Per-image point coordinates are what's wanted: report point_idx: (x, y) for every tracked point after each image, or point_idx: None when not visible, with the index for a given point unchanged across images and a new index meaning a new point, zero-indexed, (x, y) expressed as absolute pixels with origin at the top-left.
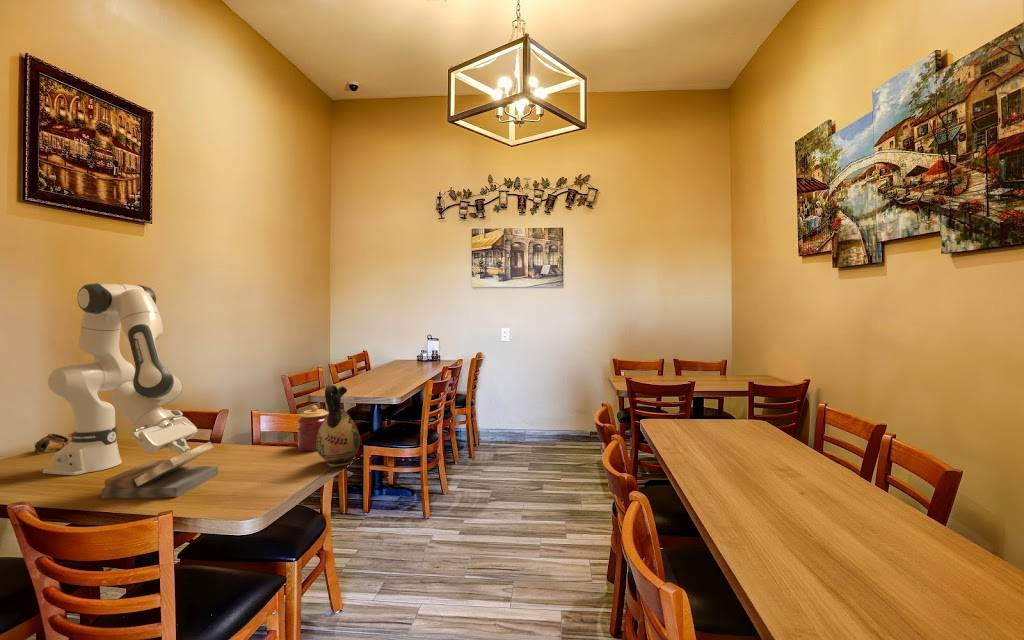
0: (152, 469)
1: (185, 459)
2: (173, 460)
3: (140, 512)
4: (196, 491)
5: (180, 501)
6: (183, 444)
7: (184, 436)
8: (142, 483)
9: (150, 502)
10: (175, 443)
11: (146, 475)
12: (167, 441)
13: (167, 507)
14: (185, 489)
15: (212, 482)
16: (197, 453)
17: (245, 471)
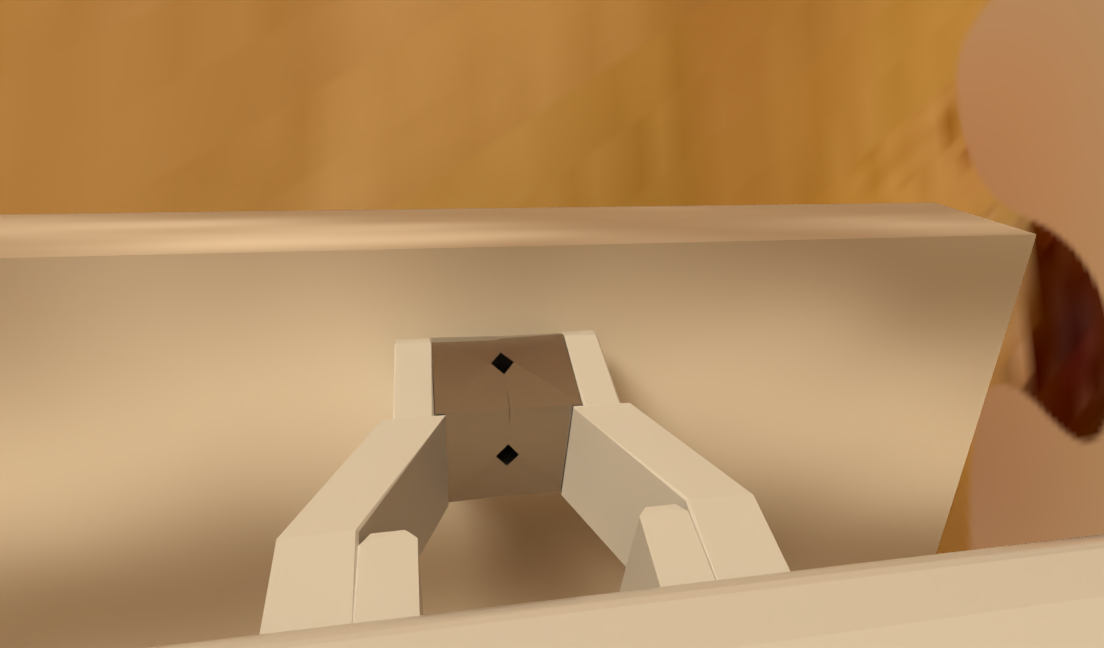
0: (937, 526)
1: (701, 208)
2: (954, 220)
3: None
4: (602, 180)
5: (808, 167)
6: (407, 501)
7: (215, 640)
8: None
9: None
10: (707, 520)
11: None
12: (1065, 563)
13: (913, 186)
14: None
15: (369, 179)
16: (383, 216)
17: (5, 19)
